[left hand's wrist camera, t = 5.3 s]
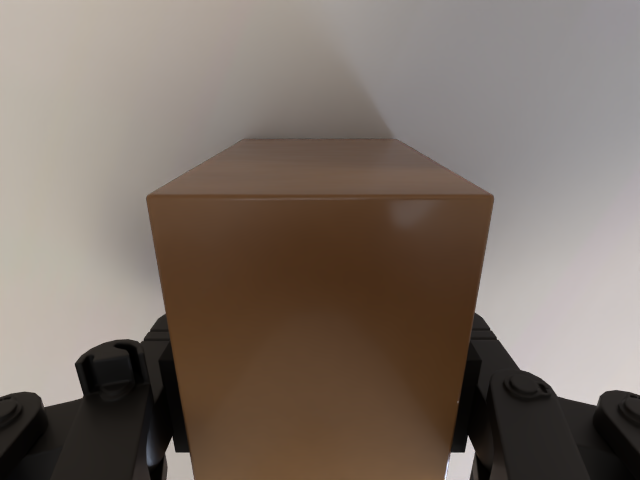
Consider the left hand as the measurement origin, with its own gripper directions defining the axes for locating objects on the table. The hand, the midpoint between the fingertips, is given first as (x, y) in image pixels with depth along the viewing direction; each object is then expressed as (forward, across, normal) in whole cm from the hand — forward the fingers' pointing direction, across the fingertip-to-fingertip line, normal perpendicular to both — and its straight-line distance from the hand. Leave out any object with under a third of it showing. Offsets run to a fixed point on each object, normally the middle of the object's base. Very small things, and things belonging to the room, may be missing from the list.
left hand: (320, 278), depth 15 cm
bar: (+1, 0, -23) cm, 23 cm away
